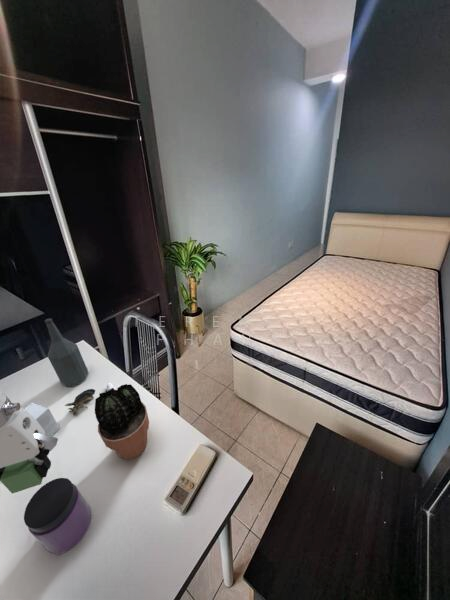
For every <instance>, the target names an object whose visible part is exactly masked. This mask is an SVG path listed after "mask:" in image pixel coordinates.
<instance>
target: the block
mask: <svg viewBox="0 0 450 600" xmlns="http://www.w3.org/2000/svg"><path fill="white" fill-rule="evenodd" d="M34 467H35V464H34V463H32V462H31V461H29V460H25V461H22V462H19V463H15V464H12V465H9V466H6V467H5V469H4V472H3V474H2V476H1V478H0V482H1V484H3V485H4V487H5V488H6V489H7V490H8V491H9V492H10V493H11V494H12V495H13V494H17V493H19V492H21V491H24V490H27V489H30V488H34V487H36V486H40V485H42V482H43V479H44V478H42V477H41V476H40V475H39V473H38V472H37V471H36V470H35V468H34Z"/></svg>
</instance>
